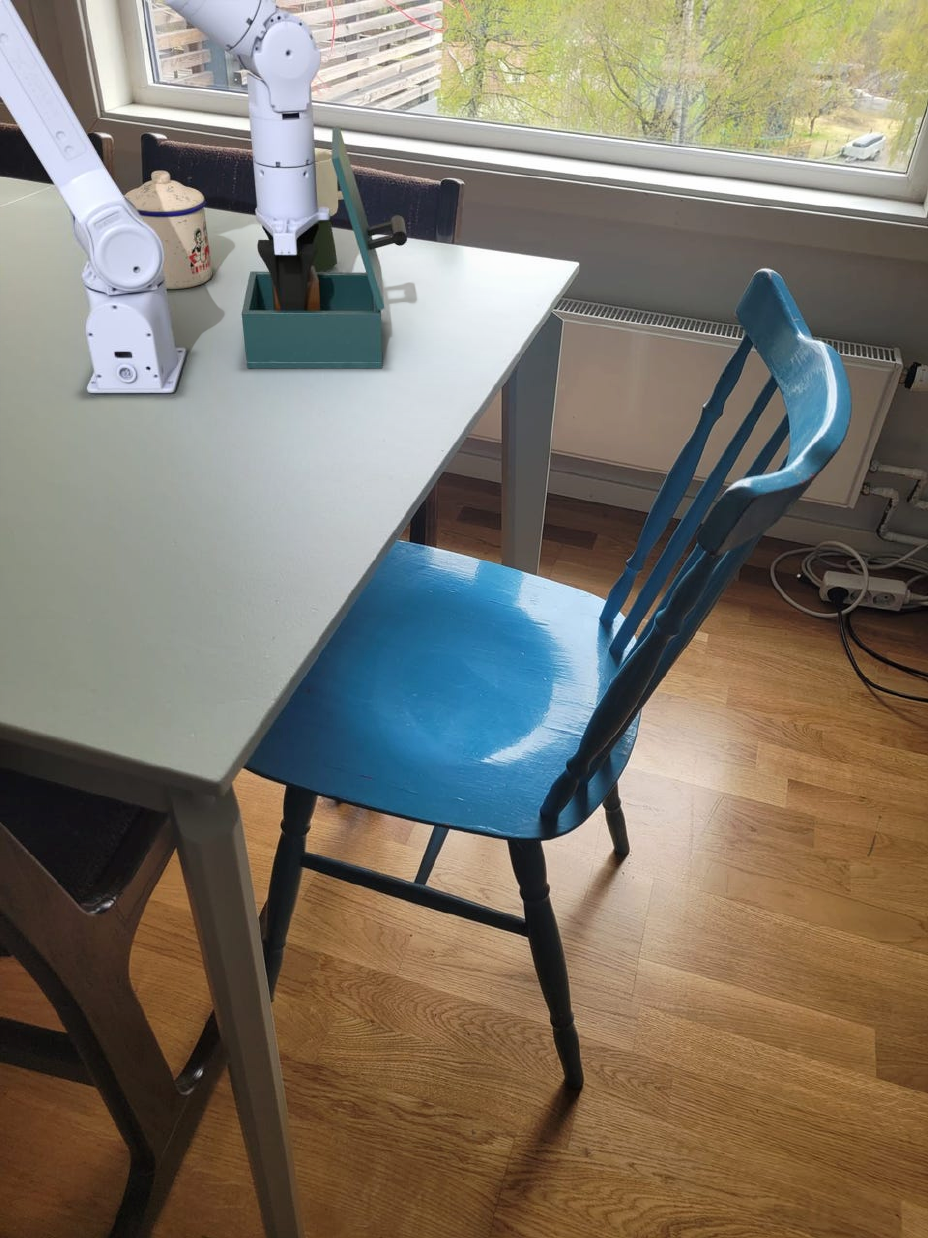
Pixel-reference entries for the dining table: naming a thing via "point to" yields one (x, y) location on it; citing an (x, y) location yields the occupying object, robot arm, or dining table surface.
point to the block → (311, 296)
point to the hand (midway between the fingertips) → (294, 303)
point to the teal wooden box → (314, 326)
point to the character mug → (325, 198)
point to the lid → (364, 219)
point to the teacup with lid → (176, 228)
